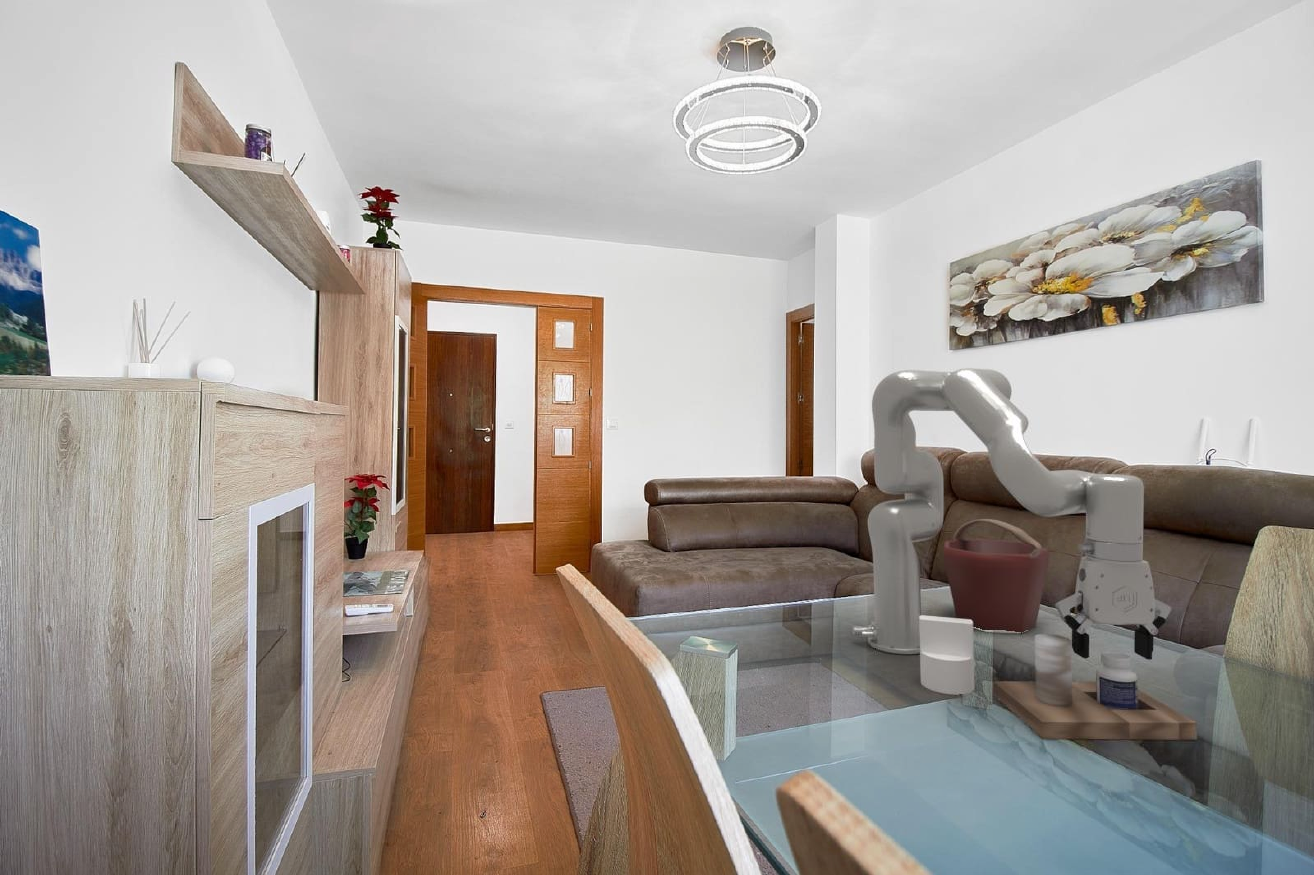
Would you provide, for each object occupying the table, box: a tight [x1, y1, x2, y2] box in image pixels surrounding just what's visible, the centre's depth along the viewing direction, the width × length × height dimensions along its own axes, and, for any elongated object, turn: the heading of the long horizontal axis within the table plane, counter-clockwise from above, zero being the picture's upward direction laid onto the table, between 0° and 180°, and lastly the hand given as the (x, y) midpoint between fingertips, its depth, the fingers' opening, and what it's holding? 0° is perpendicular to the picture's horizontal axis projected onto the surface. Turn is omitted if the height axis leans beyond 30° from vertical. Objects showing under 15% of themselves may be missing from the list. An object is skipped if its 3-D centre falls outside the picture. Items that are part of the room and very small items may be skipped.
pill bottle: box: [1095, 651, 1139, 710], centre depth 103 cm, size 5×5×10 cm
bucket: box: [943, 518, 1050, 633], centre depth 153 cm, size 24×22×25 cm
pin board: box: [992, 633, 1198, 741], centre depth 103 cm, size 22×16×12 cm
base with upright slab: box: [919, 614, 975, 696], centre depth 117 cm, size 9×9×12 cm
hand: (1111, 655), depth 103 cm, fingers open, 9 cm apart
